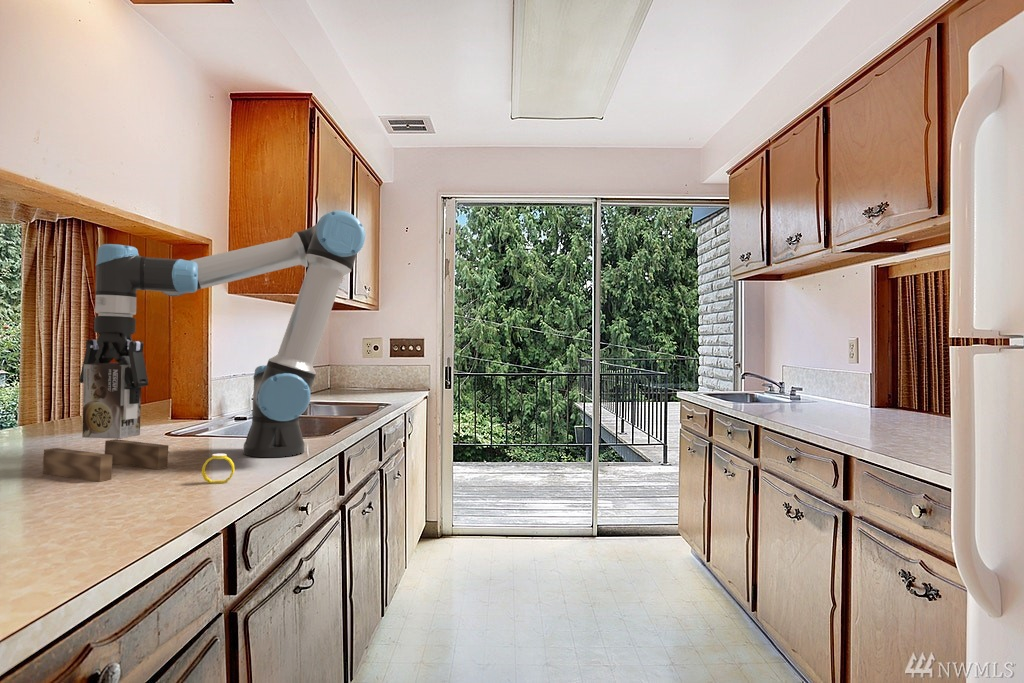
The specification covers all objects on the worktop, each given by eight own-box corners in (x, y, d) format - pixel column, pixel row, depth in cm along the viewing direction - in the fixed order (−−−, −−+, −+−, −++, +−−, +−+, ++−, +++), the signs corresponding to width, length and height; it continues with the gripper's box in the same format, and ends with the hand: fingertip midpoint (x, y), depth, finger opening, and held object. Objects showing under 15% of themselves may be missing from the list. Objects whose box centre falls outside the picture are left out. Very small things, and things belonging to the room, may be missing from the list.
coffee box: (141, 435, 131) (143, 363, 131) (119, 439, 125) (122, 364, 125) (104, 433, 132) (106, 361, 132) (80, 437, 125) (82, 362, 126)
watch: (233, 482, 124) (237, 454, 124) (231, 485, 121) (234, 456, 121) (202, 480, 122) (206, 452, 122) (199, 483, 119) (203, 454, 120)
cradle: (167, 467, 133) (168, 445, 133) (99, 481, 118) (100, 457, 118) (114, 460, 138) (115, 439, 138) (42, 473, 123) (43, 449, 123)
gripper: (61, 314, 128) (57, 415, 128) (139, 315, 121) (135, 422, 121) (94, 315, 135) (91, 412, 135) (169, 317, 129) (166, 418, 129)
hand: (112, 417), depth 128 cm, fingers closed on coffee box, 10 cm apart
